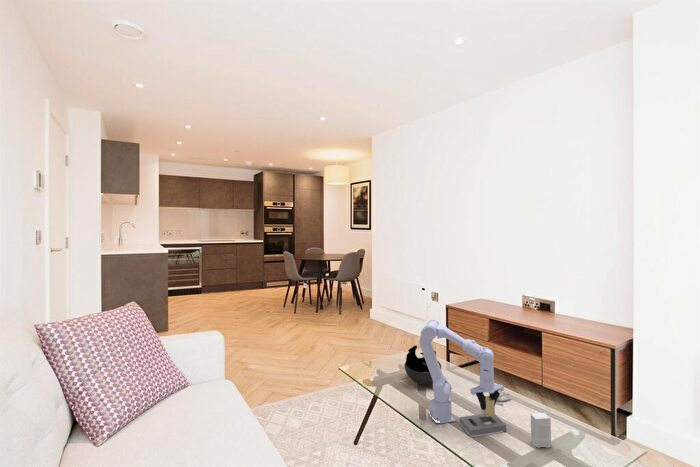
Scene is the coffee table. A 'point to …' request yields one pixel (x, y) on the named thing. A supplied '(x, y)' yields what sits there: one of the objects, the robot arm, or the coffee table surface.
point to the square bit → (489, 407)
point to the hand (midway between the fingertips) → (487, 408)
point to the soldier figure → (502, 399)
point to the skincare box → (541, 429)
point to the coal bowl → (417, 367)
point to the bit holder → (482, 425)
